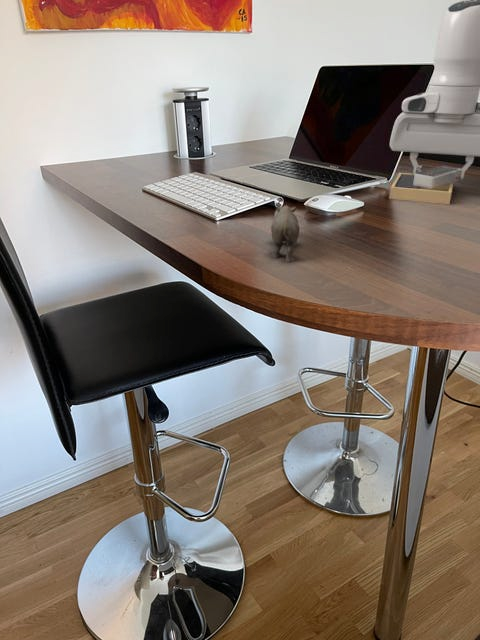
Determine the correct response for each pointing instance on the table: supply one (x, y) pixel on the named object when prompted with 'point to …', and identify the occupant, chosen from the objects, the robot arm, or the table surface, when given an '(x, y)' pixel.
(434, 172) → the multiport hub
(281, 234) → the rhino figurine
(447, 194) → the tray
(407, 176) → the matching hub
